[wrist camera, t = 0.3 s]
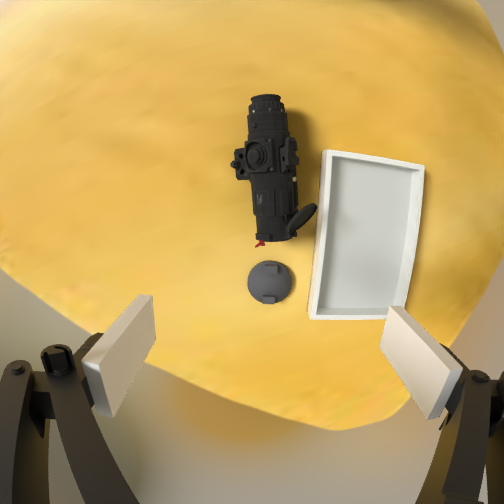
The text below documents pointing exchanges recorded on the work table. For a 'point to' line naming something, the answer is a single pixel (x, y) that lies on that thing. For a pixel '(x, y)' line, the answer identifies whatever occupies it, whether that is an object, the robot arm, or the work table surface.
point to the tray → (364, 235)
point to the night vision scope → (271, 171)
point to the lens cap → (269, 282)
